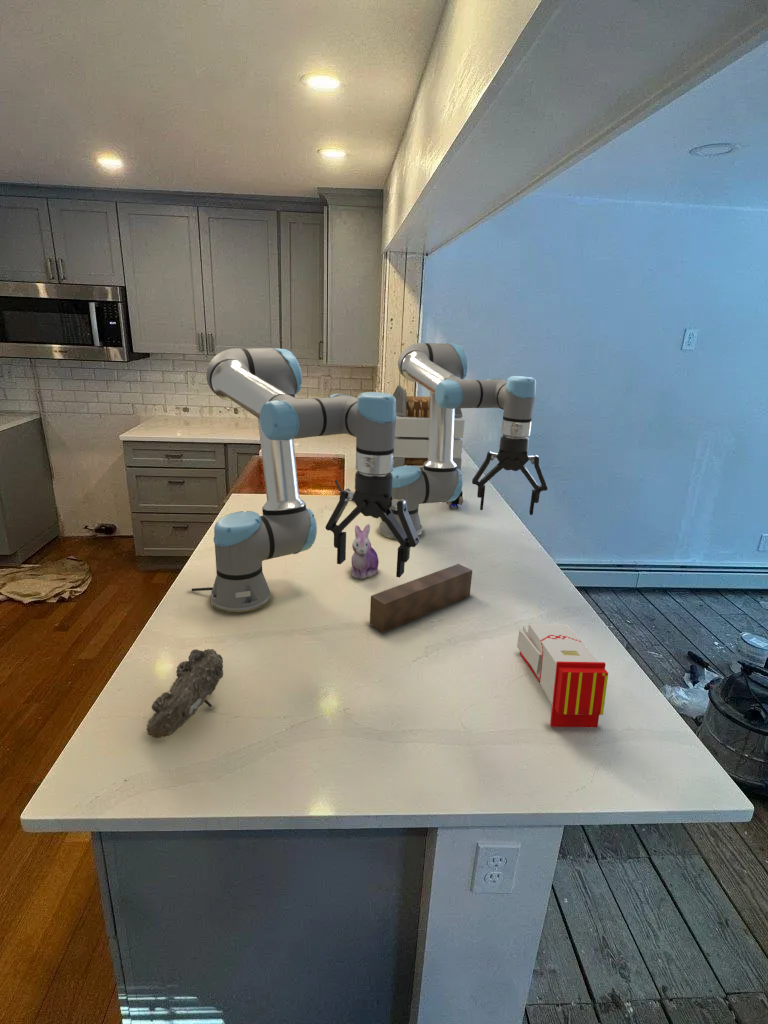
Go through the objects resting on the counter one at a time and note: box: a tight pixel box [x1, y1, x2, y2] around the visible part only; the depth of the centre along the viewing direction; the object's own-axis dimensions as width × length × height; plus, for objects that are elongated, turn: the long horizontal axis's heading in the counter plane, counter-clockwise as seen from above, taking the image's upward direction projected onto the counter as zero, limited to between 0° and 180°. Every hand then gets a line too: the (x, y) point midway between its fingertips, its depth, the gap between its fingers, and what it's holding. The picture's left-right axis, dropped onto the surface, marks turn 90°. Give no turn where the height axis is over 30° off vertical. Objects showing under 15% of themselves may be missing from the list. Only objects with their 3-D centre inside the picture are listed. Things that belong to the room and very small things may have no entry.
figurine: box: [350, 523, 380, 580], centre depth 167 cm, size 9×10×15 cm
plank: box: [369, 563, 473, 634], centre depth 149 cm, size 32×5×8 cm, turn 131°
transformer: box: [392, 384, 465, 473], centre depth 268 cm, size 34×33×41 cm
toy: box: [516, 623, 609, 728], centre depth 121 cm, size 12×13×30 cm
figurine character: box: [446, 489, 464, 510], centre depth 231 cm, size 7×8×15 cm
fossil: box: [146, 648, 224, 739], centre depth 109 cm, size 22×10×15 cm
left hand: (370, 568), depth 120 cm, fingers open, 13 cm apart
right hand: (506, 511), depth 158 cm, fingers open, 13 cm apart
